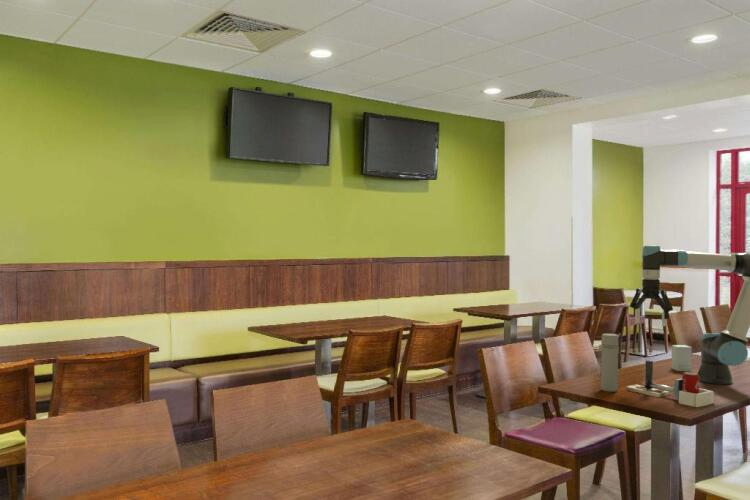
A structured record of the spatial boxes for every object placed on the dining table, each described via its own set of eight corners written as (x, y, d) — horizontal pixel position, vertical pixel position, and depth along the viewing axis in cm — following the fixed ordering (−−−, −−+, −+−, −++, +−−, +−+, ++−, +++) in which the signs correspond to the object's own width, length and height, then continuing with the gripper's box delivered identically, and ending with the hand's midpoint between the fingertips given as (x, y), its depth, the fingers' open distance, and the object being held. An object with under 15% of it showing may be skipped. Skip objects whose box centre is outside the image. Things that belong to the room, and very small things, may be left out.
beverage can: (701, 403, 268) (701, 374, 268) (685, 403, 268) (685, 374, 268) (695, 400, 274) (695, 371, 274) (679, 399, 275) (680, 371, 275)
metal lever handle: (638, 390, 287) (639, 360, 287) (648, 388, 291) (648, 359, 291) (678, 399, 272) (678, 367, 272) (687, 397, 276) (688, 366, 275)
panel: (636, 387, 296) (636, 383, 296) (669, 394, 283) (669, 390, 283) (625, 389, 292) (625, 385, 292) (658, 397, 278) (658, 392, 278)
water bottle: (618, 389, 292) (619, 334, 292) (617, 393, 285) (618, 336, 285) (597, 387, 296) (598, 332, 296) (595, 390, 289) (596, 334, 289)
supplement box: (691, 371, 336) (692, 347, 336) (677, 371, 336) (677, 346, 336) (685, 368, 343) (685, 344, 343) (670, 368, 343) (671, 344, 343)
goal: (695, 399, 276) (695, 387, 276) (713, 403, 269) (713, 391, 269) (678, 403, 269) (678, 391, 269) (697, 407, 262) (697, 394, 262)
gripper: (622, 277, 310) (622, 322, 310) (672, 280, 289) (671, 327, 290) (631, 277, 314) (631, 321, 314) (681, 279, 294) (680, 326, 294)
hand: (650, 324), depth 302 cm, fingers open, 13 cm apart
